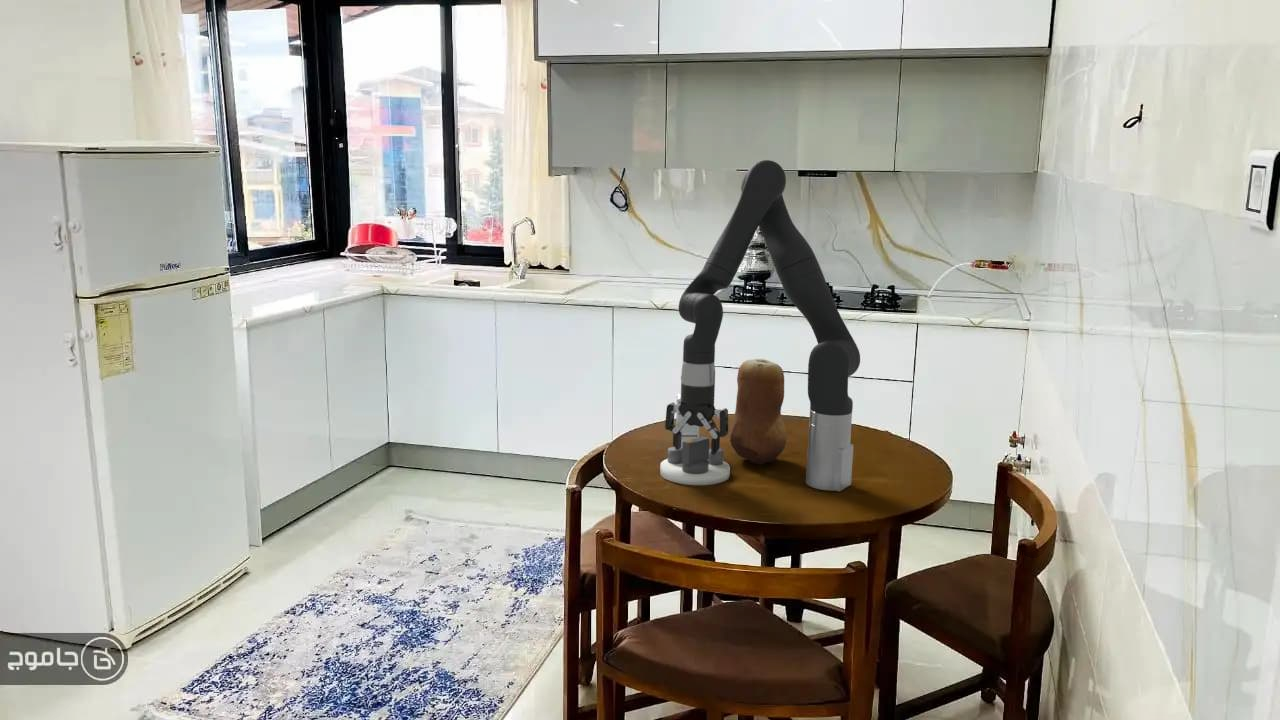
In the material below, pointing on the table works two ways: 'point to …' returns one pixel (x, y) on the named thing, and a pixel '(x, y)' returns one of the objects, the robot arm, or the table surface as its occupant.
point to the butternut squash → (759, 412)
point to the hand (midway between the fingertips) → (695, 451)
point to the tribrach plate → (674, 473)
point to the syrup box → (686, 426)
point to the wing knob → (695, 455)
